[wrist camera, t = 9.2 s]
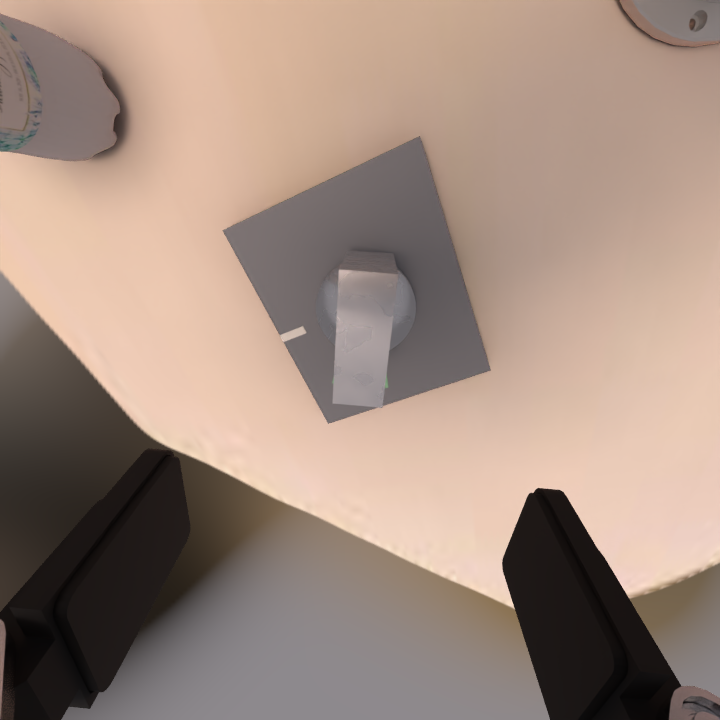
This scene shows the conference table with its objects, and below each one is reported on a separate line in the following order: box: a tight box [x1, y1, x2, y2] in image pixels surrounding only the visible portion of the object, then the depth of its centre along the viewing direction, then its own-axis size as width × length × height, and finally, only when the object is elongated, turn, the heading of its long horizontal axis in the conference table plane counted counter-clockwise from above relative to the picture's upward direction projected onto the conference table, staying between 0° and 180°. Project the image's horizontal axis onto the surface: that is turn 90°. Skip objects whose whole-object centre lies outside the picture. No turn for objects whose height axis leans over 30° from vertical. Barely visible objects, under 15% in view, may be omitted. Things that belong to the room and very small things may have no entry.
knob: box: [316, 250, 416, 408], centre depth 24 cm, size 7×10×7 cm, turn 176°
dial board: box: [223, 136, 490, 424], centre depth 27 cm, size 14×17×2 cm
